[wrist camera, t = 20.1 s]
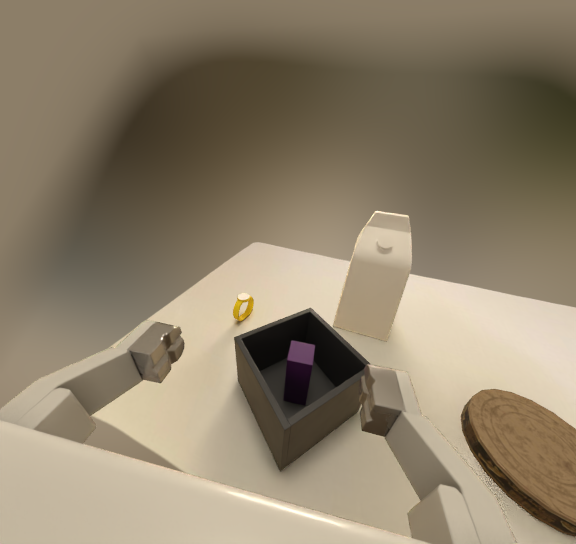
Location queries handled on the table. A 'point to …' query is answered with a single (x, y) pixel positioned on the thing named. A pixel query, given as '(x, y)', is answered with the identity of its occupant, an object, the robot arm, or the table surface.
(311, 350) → the purple rectangular block
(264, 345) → the waste bin
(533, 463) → the wood slice coaster
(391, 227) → the milk
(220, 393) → the table surface
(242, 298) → the watch
